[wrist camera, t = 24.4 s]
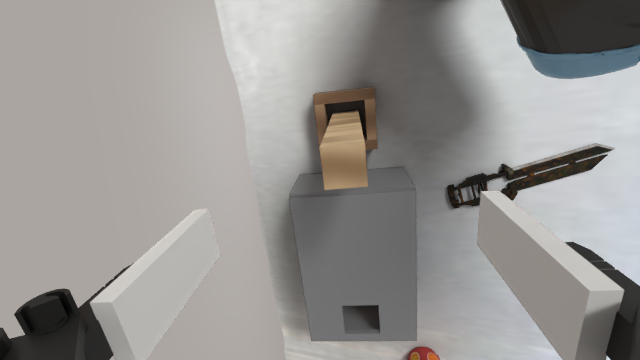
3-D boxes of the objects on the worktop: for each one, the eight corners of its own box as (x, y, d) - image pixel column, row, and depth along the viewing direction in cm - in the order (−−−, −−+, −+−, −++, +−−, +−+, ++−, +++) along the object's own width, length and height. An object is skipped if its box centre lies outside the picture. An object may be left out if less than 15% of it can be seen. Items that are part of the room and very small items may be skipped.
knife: (610, 138, 47) (618, 140, 46) (610, 176, 49) (617, 179, 47) (444, 175, 51) (447, 178, 50) (449, 209, 53) (452, 212, 52)
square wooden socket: (315, 93, 48) (313, 94, 44) (372, 86, 47) (374, 88, 43) (321, 147, 51) (319, 153, 47) (375, 142, 50) (377, 148, 46)
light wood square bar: (333, 112, 49) (319, 148, 26) (358, 109, 48) (364, 143, 26) (335, 136, 50) (324, 190, 28) (359, 133, 50) (368, 186, 27)
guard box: (299, 174, 53) (288, 196, 44) (403, 166, 51) (415, 187, 41) (317, 302, 62) (311, 342, 53) (406, 300, 60) (417, 342, 51)
